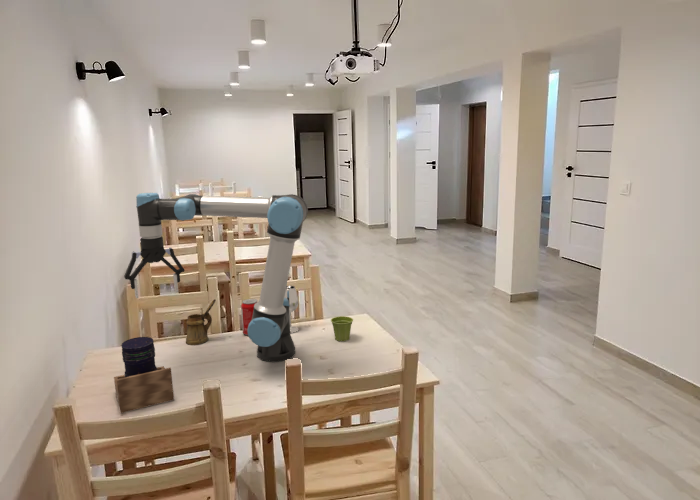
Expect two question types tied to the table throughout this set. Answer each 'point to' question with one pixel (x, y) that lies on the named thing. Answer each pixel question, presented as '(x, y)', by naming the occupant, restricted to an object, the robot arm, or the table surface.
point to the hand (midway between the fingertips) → (157, 294)
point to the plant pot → (342, 327)
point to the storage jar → (138, 356)
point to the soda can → (247, 313)
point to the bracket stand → (144, 389)
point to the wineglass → (292, 303)
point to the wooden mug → (198, 327)
